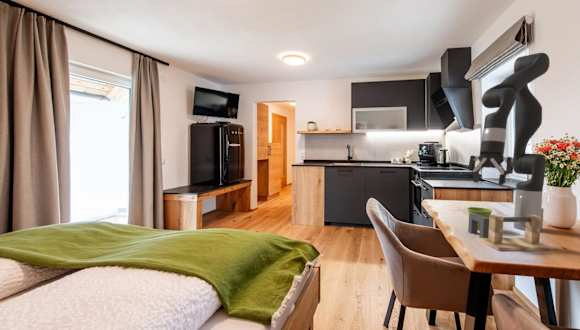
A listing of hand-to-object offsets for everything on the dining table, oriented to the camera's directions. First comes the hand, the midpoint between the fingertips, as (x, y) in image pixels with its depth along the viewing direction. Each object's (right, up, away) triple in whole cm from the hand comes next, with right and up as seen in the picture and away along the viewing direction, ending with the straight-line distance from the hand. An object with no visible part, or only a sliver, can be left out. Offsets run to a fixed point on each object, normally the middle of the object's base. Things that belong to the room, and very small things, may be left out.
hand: (487, 183), depth 113 cm
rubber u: (+2, -22, +9) cm, 23 cm away
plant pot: (+8, -21, +19) cm, 30 cm away
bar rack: (+7, -23, -3) cm, 24 cm away
